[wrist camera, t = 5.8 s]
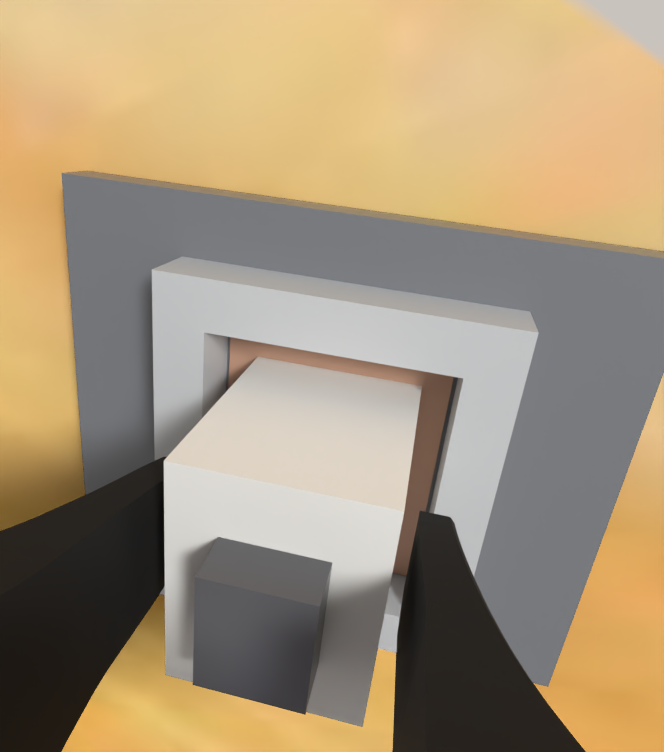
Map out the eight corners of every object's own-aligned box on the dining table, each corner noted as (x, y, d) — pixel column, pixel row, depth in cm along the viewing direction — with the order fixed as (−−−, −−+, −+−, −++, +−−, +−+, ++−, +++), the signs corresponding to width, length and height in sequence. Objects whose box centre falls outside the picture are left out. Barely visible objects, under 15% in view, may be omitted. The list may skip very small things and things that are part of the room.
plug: (390, 554, 16) (353, 779, 10) (247, 523, 16) (140, 721, 11) (421, 386, 14) (398, 553, 8) (258, 356, 14) (132, 494, 9)
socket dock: (543, 657, 17) (556, 736, 15) (108, 552, 19) (61, 608, 17) (685, 254, 12) (736, 280, 10) (86, 170, 14) (16, 177, 12)
